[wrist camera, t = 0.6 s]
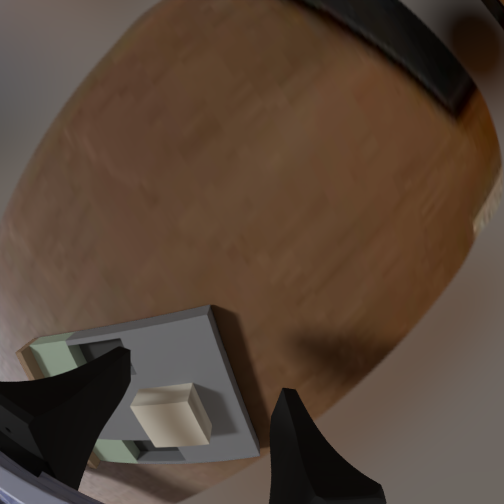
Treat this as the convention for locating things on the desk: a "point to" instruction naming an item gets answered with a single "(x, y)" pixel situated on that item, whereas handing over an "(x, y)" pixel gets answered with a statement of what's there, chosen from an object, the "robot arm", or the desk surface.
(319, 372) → the desk surface
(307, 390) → the desk surface
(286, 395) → the robot arm
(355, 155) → the desk surface
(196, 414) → the cream block
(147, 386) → the board
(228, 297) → the desk surface
